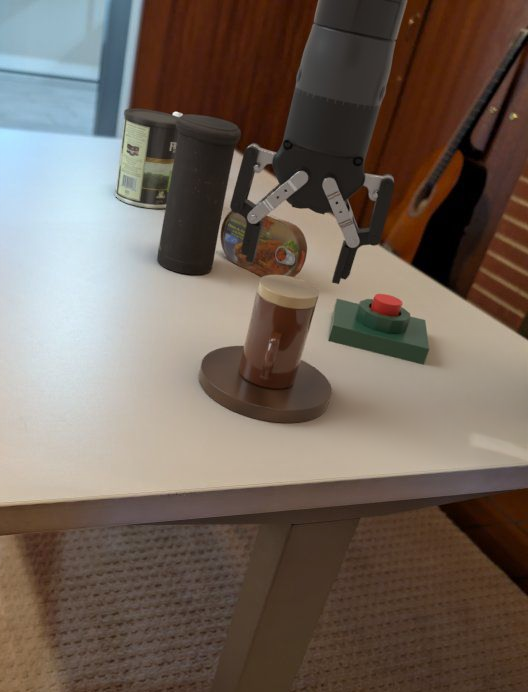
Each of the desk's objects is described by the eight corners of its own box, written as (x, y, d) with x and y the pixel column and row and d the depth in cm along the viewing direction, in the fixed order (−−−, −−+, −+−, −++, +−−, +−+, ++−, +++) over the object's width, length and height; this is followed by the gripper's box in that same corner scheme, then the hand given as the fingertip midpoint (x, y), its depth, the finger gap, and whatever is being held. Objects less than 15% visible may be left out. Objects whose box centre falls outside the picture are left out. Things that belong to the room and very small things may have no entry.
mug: (243, 356, 82) (263, 269, 77) (297, 370, 82) (321, 283, 76) (231, 388, 75) (252, 295, 70) (289, 403, 75) (315, 311, 69)
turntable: (331, 376, 85) (335, 365, 85) (323, 436, 74) (327, 423, 73) (212, 346, 87) (214, 334, 86) (185, 400, 75) (188, 387, 74)
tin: (214, 253, 115) (225, 198, 111) (228, 251, 117) (240, 197, 113) (287, 291, 107) (302, 232, 102) (301, 288, 109) (316, 231, 104)
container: (207, 257, 113) (234, 115, 103) (219, 279, 106) (250, 129, 95) (151, 250, 111) (172, 105, 101) (159, 272, 104) (183, 119, 93)
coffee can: (176, 199, 138) (190, 117, 130) (165, 213, 129) (179, 126, 121) (122, 187, 138) (132, 105, 131) (107, 200, 129) (117, 112, 122)
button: (397, 310, 97) (402, 298, 96) (398, 320, 94) (402, 307, 93) (370, 304, 97) (374, 291, 96) (370, 313, 94) (374, 300, 93)
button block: (419, 334, 101) (429, 307, 99) (423, 365, 93) (434, 335, 91) (332, 313, 102) (340, 285, 100) (328, 341, 94) (336, 311, 92)
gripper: (419, 104, 67) (365, 276, 76) (264, 70, 69) (228, 243, 77) (423, 115, 61) (363, 301, 70) (252, 76, 62) (214, 264, 71)
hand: (292, 270), depth 73 cm, fingers open, 8 cm apart
